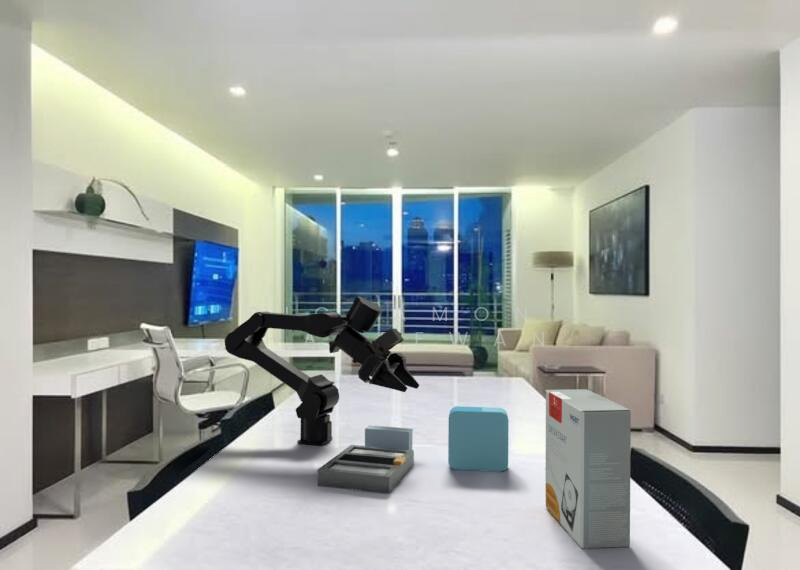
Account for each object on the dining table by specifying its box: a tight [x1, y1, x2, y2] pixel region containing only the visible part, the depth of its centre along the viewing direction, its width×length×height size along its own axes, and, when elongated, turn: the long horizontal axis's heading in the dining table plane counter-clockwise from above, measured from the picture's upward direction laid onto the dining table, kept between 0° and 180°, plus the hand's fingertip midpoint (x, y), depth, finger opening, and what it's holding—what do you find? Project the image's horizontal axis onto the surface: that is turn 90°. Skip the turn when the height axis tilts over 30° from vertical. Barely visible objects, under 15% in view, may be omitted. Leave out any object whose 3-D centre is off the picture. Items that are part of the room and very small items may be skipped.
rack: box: [317, 444, 415, 495], centre depth 112 cm, size 14×17×4 cm
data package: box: [447, 405, 509, 473], centre depth 117 cm, size 12×4×12 cm, turn 82°
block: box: [364, 424, 413, 450], centre depth 125 cm, size 10×3×6 cm, turn 74°
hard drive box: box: [545, 388, 632, 549], centre depth 89 cm, size 16×8×20 cm, turn 5°
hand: (412, 388), depth 127 cm, fingers open, 9 cm apart
